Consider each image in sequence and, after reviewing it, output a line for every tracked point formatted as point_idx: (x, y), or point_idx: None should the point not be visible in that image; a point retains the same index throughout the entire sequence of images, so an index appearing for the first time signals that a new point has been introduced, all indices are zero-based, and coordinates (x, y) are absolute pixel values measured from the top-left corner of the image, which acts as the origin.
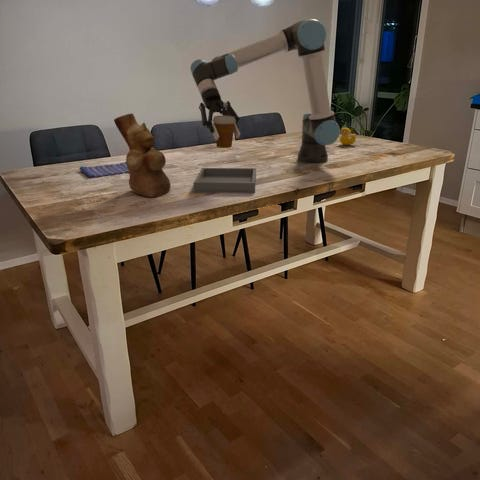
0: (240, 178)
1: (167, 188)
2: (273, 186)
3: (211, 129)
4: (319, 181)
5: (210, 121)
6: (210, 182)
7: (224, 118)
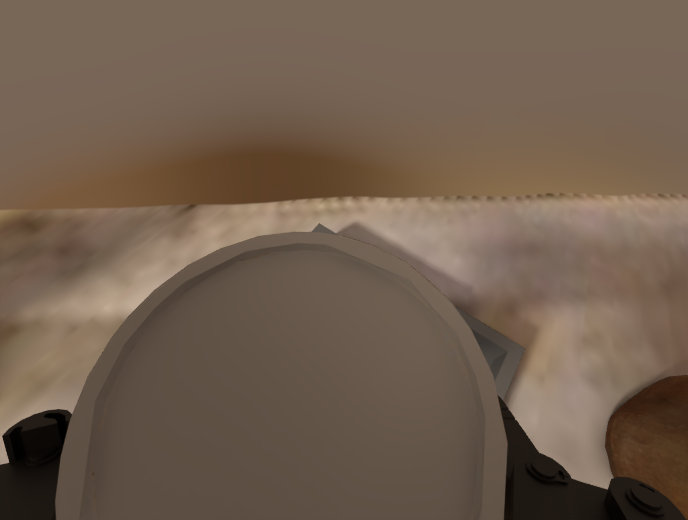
0: None
1: (627, 407)
2: None
3: (500, 400)
4: (56, 230)
5: (543, 485)
6: (459, 311)
7: (372, 261)
